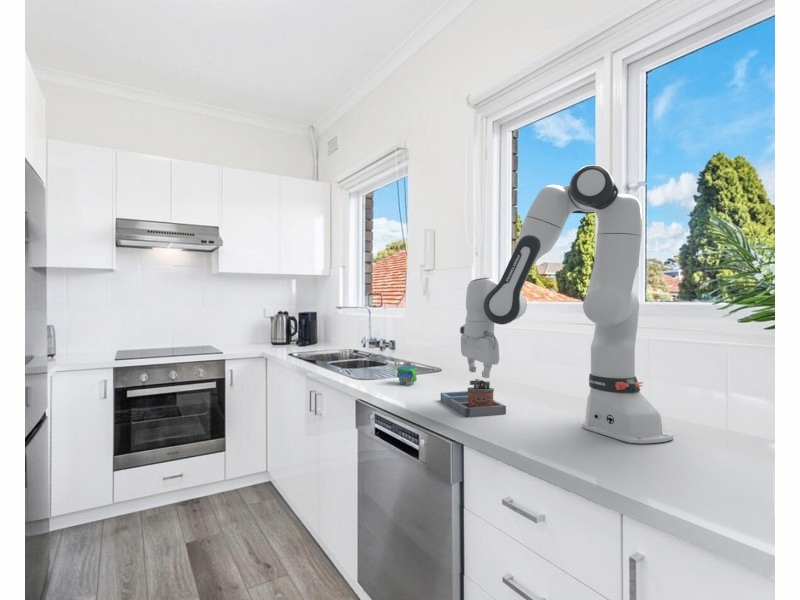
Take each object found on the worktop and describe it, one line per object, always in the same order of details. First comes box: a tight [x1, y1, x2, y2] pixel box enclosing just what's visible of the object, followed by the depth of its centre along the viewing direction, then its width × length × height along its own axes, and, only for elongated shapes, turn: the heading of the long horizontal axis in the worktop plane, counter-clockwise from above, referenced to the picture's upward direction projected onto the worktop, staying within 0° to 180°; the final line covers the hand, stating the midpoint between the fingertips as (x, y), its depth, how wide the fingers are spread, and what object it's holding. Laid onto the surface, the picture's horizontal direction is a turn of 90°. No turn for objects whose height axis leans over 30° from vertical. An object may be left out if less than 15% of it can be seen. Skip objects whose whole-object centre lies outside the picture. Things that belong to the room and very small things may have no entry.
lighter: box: [467, 379, 495, 408], centre depth 140 cm, size 8×3×10 cm, turn 84°
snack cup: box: [396, 365, 418, 387], centre depth 184 cm, size 11×8×7 cm
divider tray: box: [440, 378, 507, 418], centre depth 147 cm, size 22×14×7 cm, turn 15°
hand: (478, 374), depth 140 cm, fingers open, 8 cm apart
